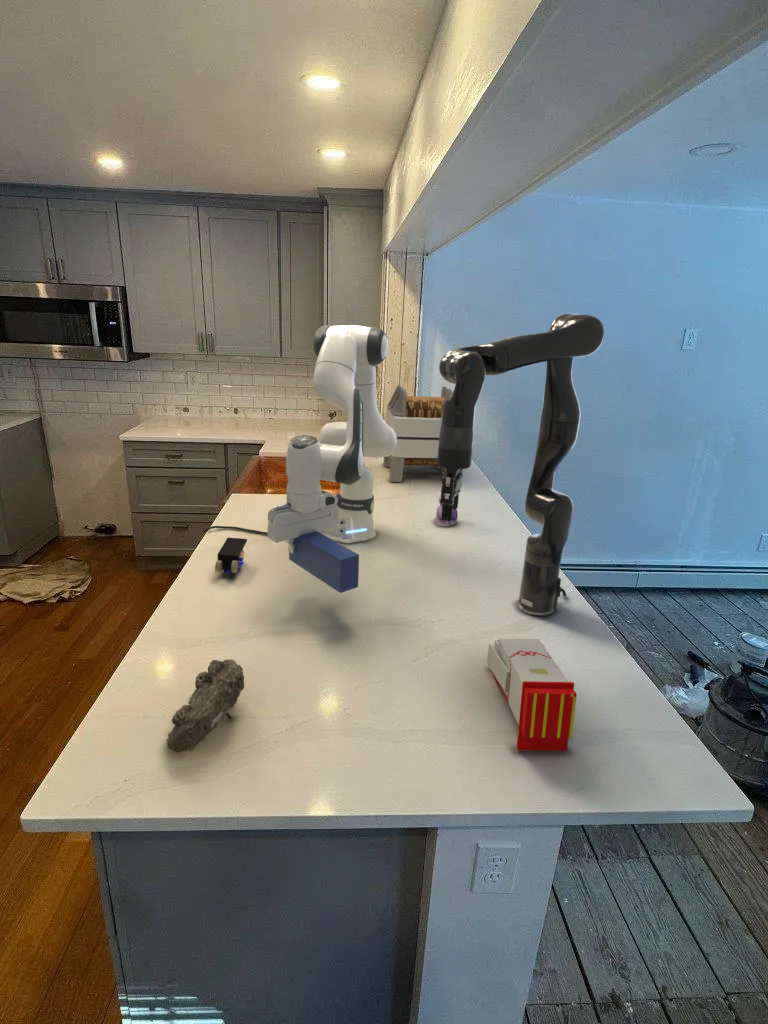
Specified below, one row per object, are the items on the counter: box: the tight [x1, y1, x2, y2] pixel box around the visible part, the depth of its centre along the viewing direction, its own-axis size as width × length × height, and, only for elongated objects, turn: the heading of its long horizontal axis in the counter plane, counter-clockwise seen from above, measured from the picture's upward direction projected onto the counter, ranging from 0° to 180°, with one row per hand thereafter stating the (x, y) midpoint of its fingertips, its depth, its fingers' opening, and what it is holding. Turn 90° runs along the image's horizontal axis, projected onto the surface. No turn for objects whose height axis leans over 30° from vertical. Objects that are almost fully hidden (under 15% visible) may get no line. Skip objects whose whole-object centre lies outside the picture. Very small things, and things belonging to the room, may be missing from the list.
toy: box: [486, 637, 578, 752], centre depth 114 cm, size 12×13×30 cm
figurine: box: [434, 483, 459, 527], centre depth 210 cm, size 9×10×15 cm
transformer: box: [383, 384, 454, 483], centre depth 268 cm, size 34×33×41 cm
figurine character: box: [214, 537, 248, 578], centre depth 166 cm, size 7×8×15 cm
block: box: [288, 531, 360, 594], centre depth 144 cm, size 23×6×9 cm, turn 40°
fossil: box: [166, 658, 245, 754], centre depth 106 cm, size 22×10×15 cm
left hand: (304, 549), depth 150 cm, fingers closed on block, 5 cm apart
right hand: (449, 513), depth 130 cm, fingers open, 8 cm apart
